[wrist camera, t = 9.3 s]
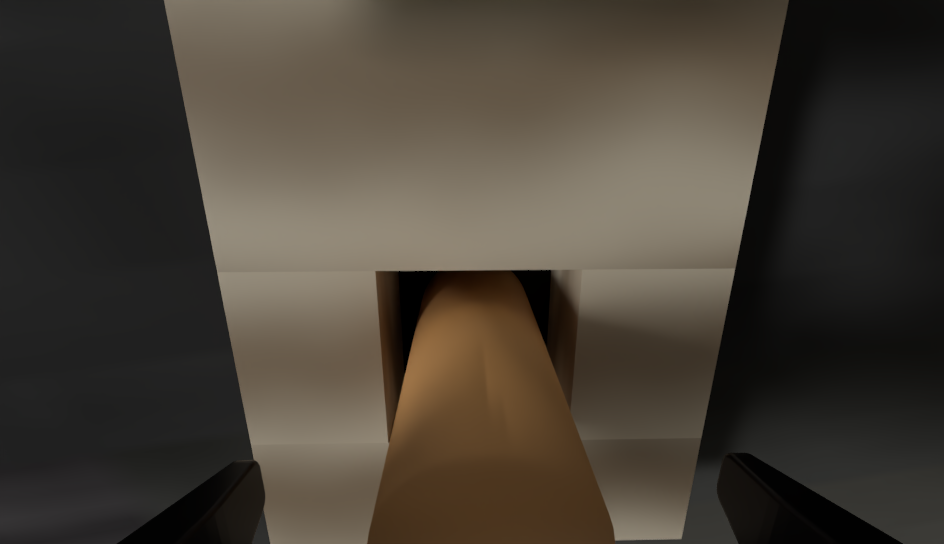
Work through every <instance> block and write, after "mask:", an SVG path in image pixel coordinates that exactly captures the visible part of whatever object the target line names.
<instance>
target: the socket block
mask: <svg viewBox="0 0 944 544" xmlns="http://www.w3.org/2000/svg"><path fill="white" fill-rule="evenodd" d="M164 2H165V7H166V13H167V18H168V23H169V28H170V33H171V38H172V43H173V48H174V53H175V59H176V64H177V69H178V74H179V79H180V84H181V89H182V94H183V99H184V104H185V110H186V115H187V120H188V125H189V130H190V135H191V140H192V145H193V150H194V156H195V161H196V166H197V171H198V176H199V181H200V186H201V191H202V196H203V202H204V207H205V212H206V217H207V222H208V227H209V232H210V237H211V242H212V248H213V253H214V258H215V263H216V268H217V273H218V278H219V283H220V288H221V293H222V299H223V304H224V309H225V314H226V319H227V324H228V329H229V334H230V339H231V345H232V350H233V355H234V360H235V365H236V370H237V375H238V380H239V385H240V391H241V396H242V401H243V406H244V411H245V416H246V421H247V426H248V431H249V437H250V442H251V447H252V452H253V457H254V460H255V461H257V462H258V463H259V465H260V468H261V473H262V478H263V483H264V489H265V505H264V513H265V518H266V523H267V528H268V534H269V539H270V544H367V541H368V535H369V530H370V525H371V521H372V517H373V512H374V508H375V503H376V499H377V495H378V490H379V486H380V482H381V477H382V473H383V468H384V464H385V460H386V455H387V451H388V447H389V442H390V438H391V434H392V429H393V425H394V420H395V416H396V412H397V407H398V403H399V399H400V394H401V390H402V385H403V381H404V377H405V373H404V359H403V342H402V324H401V307H400V289H399V272H398V271H459V270H551V283H550V300H549V317H548V334H547V351H548V354H549V356H550V359H551V361H552V364H553V367H554V369H555V372H556V375H557V377H558V380H559V383H560V385H561V388H562V391H563V393H564V396H565V399H566V401H567V404H568V406H569V409H570V412H571V414H572V417H573V420H574V422H575V425H576V428H577V430H578V433H579V436H580V438H581V441H582V443H583V446H584V449H585V451H586V454H587V457H588V459H589V462H590V465H591V467H592V470H593V473H594V475H595V478H596V481H597V483H598V486H599V488H600V491H601V494H602V496H603V499H604V502H605V504H606V507H607V510H608V512H609V515H610V518H611V521H612V524H613V528H614V536H615V540H656V539H681V538H682V533H683V528H684V523H685V518H686V513H687V508H688V503H689V498H690V493H691V488H692V483H693V478H694V473H695V468H696V463H697V458H698V453H699V447H700V442H701V437H702V432H703V427H704V422H705V417H706V412H707V407H708V402H709V397H710V392H711V387H712V382H713V377H714V372H715V367H716V362H717V357H718V352H719V347H720V342H721V337H722V332H723V327H724V322H725V317H726V312H727V307H728V302H729V297H730V292H731V287H732V282H733V277H734V272H735V267H736V262H737V257H738V252H739V247H740V242H741V237H742V232H743V227H744V222H745V217H746V212H747V207H748V202H749V197H750V192H751V187H752V182H753V177H754V172H755V167H756V162H757V157H758V152H759V147H760V142H761V137H762V132H763V127H764V122H765V117H766V112H767V107H768V102H769V97H770V92H771V87H772V82H773V77H774V72H775V67H776V62H777V57H778V52H779V47H780V42H781V37H782V32H783V27H784V22H785V17H786V12H787V7H788V2H789V0H164Z"/></svg>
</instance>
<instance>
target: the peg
mask: <svg viewBox="0 0 944 544" xmlns="http://www.w3.org/2000/svg"><path fill="white" fill-rule="evenodd" d="M367 544H615V536H614V528H613V524H612V521H611V518H610V515H609V512H608V510H607V507H606V504H605V502H604V499H603V496H602V494H601V491H600V488H599V486H598V483H597V481H596V478H595V475H594V473H593V470H592V467H591V465H590V462H589V459H588V457H587V454H586V451H585V449H584V446H583V443H582V441H581V438H580V436H579V433H578V430H577V428H576V425H575V422H574V420H573V417H572V414H571V412H570V409H569V406H568V404H567V401H566V399H565V396H564V393H563V391H562V388H561V385H560V383H559V380H558V377H557V375H556V372H555V369H554V367H553V364H552V361H551V359H550V356H549V354H548V351H547V348H546V346H545V343H544V340H543V338H542V335H541V332H540V330H539V327H538V324H537V322H536V319H535V317H534V314H533V311H532V309H531V306H530V303H529V301H528V298H527V295H526V293H525V290H524V288H523V286H522V284H521V282H520V281H519V279H518V278H517V277H516V276H515V274H514V273H513V272H511V271H510V270H459V271H438V272H437V273H436V274H435V275H434V276H433V278H432V279H431V280H430V282H429V283H428V285H427V287H426V289H425V291H424V295H423V298H422V302H421V307H420V311H419V316H418V320H417V324H416V329H415V333H414V337H413V342H412V346H411V351H410V355H409V359H408V364H407V368H406V372H405V377H404V381H403V385H402V390H401V394H400V399H399V403H398V407H397V412H396V416H395V420H394V425H393V429H392V434H391V438H390V442H389V447H388V451H387V455H386V460H385V464H384V468H383V473H382V477H381V482H380V486H379V490H378V495H377V499H376V503H375V508H374V512H373V517H372V521H371V525H370V530H369V535H368V541H367Z"/></svg>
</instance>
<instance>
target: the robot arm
mask: <svg viewBox="0 0 944 544" xmlns="http://www.w3.org/2000/svg"><path fill="white" fill-rule="evenodd" d="M717 494H718V498H719V501H720V503H721V505H722V508H723V510H724V512H725V514H726V517H727V519H728V521H729V523H730V526H731V528H732V530H733V532H734V535H735V537H736V539H737V541H738V544H903V543H901V542H899V541H898V540H896V539H894V538H892V537H891V536H889V535H887V534H886V533H884V532H882V531H880V530H879V529H877V528H875V527H874V526H872V525H870V524H869V523H867V522H865V521H863V520H862V519H860V518H858V517H857V516H855V515H853V514H851V513H850V512H848V511H846V510H845V509H843V508H841V507H840V506H838V505H836V504H834V503H833V502H831V501H829V500H828V499H826V498H824V497H822V496H821V495H819V494H817V493H816V492H814V491H812V490H811V489H809V488H807V487H805V486H804V485H802V484H800V483H799V482H797V481H795V480H793V479H792V478H790V477H788V476H787V475H785V474H783V473H782V472H780V471H778V470H776V469H775V468H773V467H771V466H770V465H768V464H766V463H764V462H763V461H761V460H759V459H758V458H756V457H754V456H753V455H751V454H748V453H728V454H726V455H725V456H724V457H723V461H722V465H721V470H720V474H719V479H718V483H717ZM264 505H265V489H264V483H263V478H262V473H261V468H260V465H259V463H258V462H257V461H255V460H238V461H234V462H233V463H231V464H229V465H228V466H227V467H225V468H224V469H222V470H221V471H219V472H218V473H217V474H215V475H214V476H212V477H211V478H210V479H208V480H207V481H205V482H204V483H202V484H201V485H200V486H198V487H197V488H195V489H194V490H193V491H191V492H190V493H188V494H187V495H185V496H184V497H183V498H181V499H180V500H178V501H177V502H176V503H174V504H173V505H171V506H170V507H168V508H167V509H166V510H164V511H163V512H161V513H160V514H158V515H157V516H156V517H154V518H153V519H151V520H150V521H149V522H147V523H146V524H144V525H143V526H141V527H140V528H139V529H137V530H136V531H134V532H133V533H132V534H130V535H129V536H127V537H126V538H124V539H123V540H122V541H120V542H119V543H117V544H252V541H253V538H254V535H255V532H256V529H257V526H258V523H259V520H260V517H261V514H262V512H263V508H264Z"/></svg>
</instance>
